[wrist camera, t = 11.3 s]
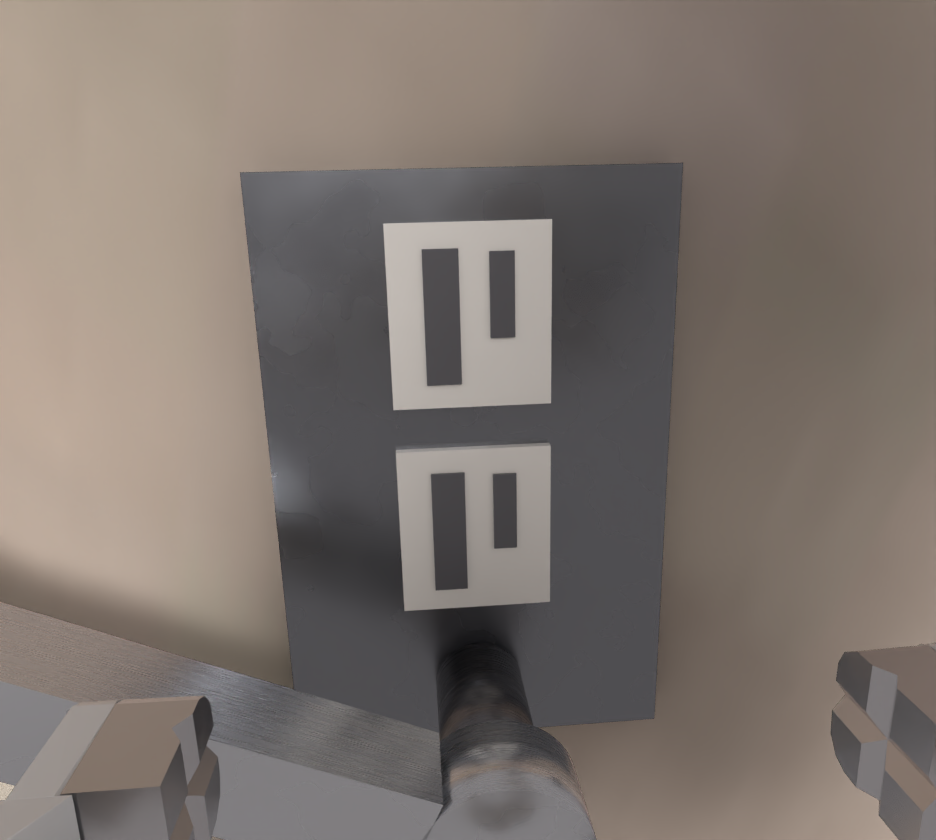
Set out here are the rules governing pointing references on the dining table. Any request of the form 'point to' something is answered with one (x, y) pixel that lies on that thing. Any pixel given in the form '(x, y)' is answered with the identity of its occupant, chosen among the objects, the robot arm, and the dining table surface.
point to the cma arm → (297, 747)
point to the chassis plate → (468, 432)
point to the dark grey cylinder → (479, 688)
